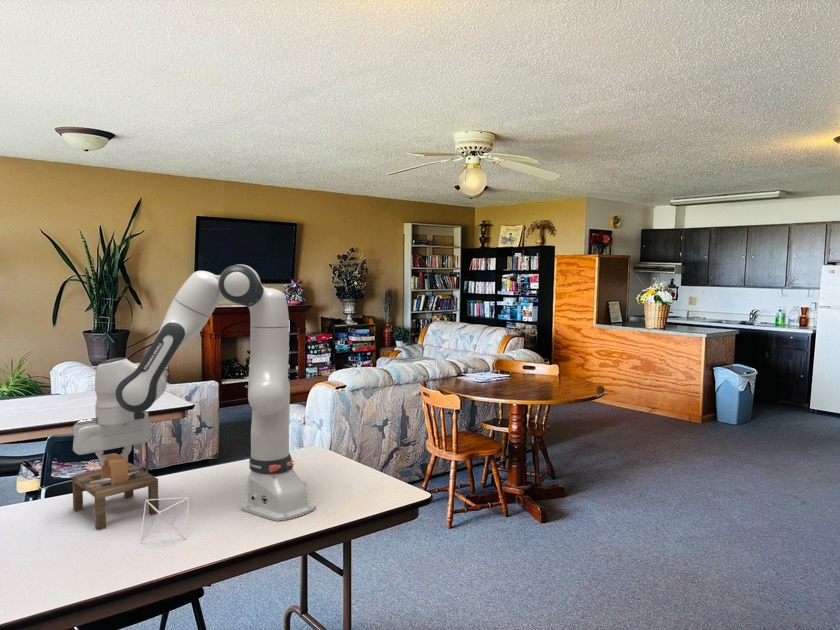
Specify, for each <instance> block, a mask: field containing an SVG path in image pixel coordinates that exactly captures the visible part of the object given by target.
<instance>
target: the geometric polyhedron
mask: <svg viewBox="0 0 840 630" xmlns="http://www.w3.org/2000/svg"><path fill="white" fill-rule="evenodd" d="M178 499H181V500H180V501H178V502H177V503H174V504H172V505H170V506H168V507H166V508H165V509H163V510H160V511H158V510H157V509H156V508H155V507H154V506H153V505H151V504H150V503H149V502H148V499H145V501H144V509H143V517H142V524H141V532H140V541H139V542H140V544H148V543H151V544H152V543H160V542H161V543H162V542H164V543H165V542H175V541H177V542H178V541H185V540H186V539H187V529H188V519H189V509H190V508H189V505H190V497H189V496H188V497H187V496H184V497H183V496H182V497H172V498H171V497H169V498H168V497H166V498H165V497H164V498H158V499H149V500H159V501H160V500H161V501H162V500H163V501H164V500H178ZM184 501H185V502H184ZM182 502H184V504H183V505H182V507H181V509H180V510H179V512H178V513H177V515H176V517H175V518H174V520H173V521H172V523H171V522H170V521H169V520H168V518H166V516H164V515H163V514H162V512H165V511H166V510H168V509H170V508H173V507H174V506H176V505H179V504H180V503H182ZM147 504H148V506H149V505H150V506H151V507H152V508H153V509H154V508H155V509H156V510H157V511H158V512H159V513H158V512H157V511H156V510H155V509H154V510H155V511H156V512H157V513H158V514H156V517H155V518H154V520H153V522H152V523H151V525H150V527H149V528H148V529H147V531H146V533H145V534H144V535H143V532H144V531H143V529H144V522H145V513H146V506H147ZM186 504H187V512H186V523H185V533H184V536H183V535H182V534H181V532H179V530H177V529H176V528H175V526H174V522H176V520H177V518H178V516H179V514H180V513H181V512H182V510H183V508H184V507H185V506H186ZM159 516H160V518H161V519H163V521H164V522H166V524H167V525H168V527H166V528H164V529H163V530H161V531H158V532H157V533H156V534H153V535H151V536H150V537H148V538H146V539H145V537H146V536H147V534H148V532H149V531H150V530H151V528H152V526H153V525H154V524H155V522H156V520H157V518H158V517H159ZM169 528H172V530H173V531H175V532H176V533H177V534H178V535H179V536H180V537H181V539H170V540H169V539H168V540H158V541H157V540H155V541H153V540H152V541H147V540H149V539H151V538H153V537H155V536H156V535H158V534H160V533H162V532H163V531H165V530H167V529H169Z"/></svg>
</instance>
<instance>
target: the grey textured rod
mask: <svg viewBox="0 0 840 630" xmlns="http://www.w3.org/2000/svg"><path fill="white" fill-rule="evenodd" d="M134 473H139V471H135V472H131V473H128V479H129V478H133V479H134ZM95 482H97V483H99V484H100V485H102V486H104V485H109V484H111V477H108V478H104V479H99V480H95V481H91V482H90V483H95Z"/></svg>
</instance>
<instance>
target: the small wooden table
mask: <svg viewBox="0 0 840 630" xmlns="http://www.w3.org/2000/svg"><path fill="white" fill-rule="evenodd" d="M135 471H139V473H134V478H129V479H128V481H124V482H120V483H116V484H111V483H110V484H106V485H100V484H99V483H97V482H95V483H90V482H91V481H95V480H99V479H101V469H96V470H91V471H88V472H82V473H78V474H74V475H72V476H71V477H72V478H71V480H72V509H73V511H74V512H80V511H82V510H84V495H83V493H84V491H85V492H87V493H89V494H90V495H91V496H92V497H93V498H94V525H95V526H94V527H95V529H96V530H97V531H101V530H104V529H107V513H106V512H107V511H106V510H107V507H106V504H107V503H106V498H107V497H111V496H115V495H119V494H123V497H124V498H126V499H131V498H133V497H134V492H135V490H136V491H137V490H140V489H143V488H147V493H148V494H147V495H148V496H147V498H148V499H147V500H148V502H149V503H150V504H151V505H153V506H154V507H155V508H156V509H157V510H158V511H159V510H160V508H159V507H160V504H159V503H160V502H159V501H160V500H149V499H159V478H157V477H156V476H153V475H152V474H150V473H149V472H146V471H145V470H143V469H142V468H139V467H138V466H136V465H135V464H133V463H131V462H129V463H128V473H131V472H135ZM83 490H84V491H83ZM148 502H147V503H148ZM155 508H154V509H155ZM154 509H153V508H152V507H151V506H150V505H149V504H148V514H149V515H150V516H155V515H158V513H159V512H160V511H159V512H158V511H157V510H156V509H155V510H156V511H157V512H158V513H157V512H156V511H155V510H154Z"/></svg>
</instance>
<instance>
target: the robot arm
mask: <svg viewBox="0 0 840 630" xmlns="http://www.w3.org/2000/svg"><path fill="white" fill-rule="evenodd" d="M224 300H225V301H226V300H228V301H229V302H230V303H231V302H232V303H234V304H238V305H241V306H245V307H248V309H249V315H250V316H249V317H250V330H249V331H250V337H249V339H250V340H249V341H250V347H249V348H250V351H249V352H250V354H249V364H248V365H249V366H248V368H249V369H248V383H247V384H248V385H247V386H248V388H247V399H248V400H247V401H248V403H249V405H250V407H251V409H252V410H251V424H250V426H251V427H250V455H249V462H248V465H249V470H250V473H249V475H248V476H247V477H248V478H247V479H246V483H245V496H244V503H243V504H242V505H241V511H243V512H246V513H250V514H253V515H256V516H260V517H262V518H265V519H268V520H272V521H275V522H280V520H281V521H287V519H288V520H292V519H295V517H296V518H298V516H299V517H302V516H304V514H305V515H307V514H309V513H311V512H313V511H314V510H315V509H316V508H317V505H316V503H315V502H313V501H312V500H310V499H309V498H308V491H307V483H306V482H305V481H304V480H301V478H300V476H298V474H297V472H296V471H295V469H294V465H295V463H294V462H295V460H293V458H292V456H291V454H290V407H291V406H290V405H291V403H290V402H291V383H290V380H289V378H288V377H289V359H290V358H289V357H290V354H289V353H290V317H289V316H290V315H289V306H288V302H287V297H286V295H285V293H283V291H282V290H279V289H277V288H272V287H270V288H269V287H266V286H264V285H263V284H262V282H261V277H260V274H259V273H258V272H257V271H256V270H254V269H253V268H252V267H251V266H249V265H246V264H233V265H232V264H231V265H230V266H228V267H226V268H225V269H224V270H223V271H222V272H221V273H220V274H218V275H217V274H214V273H212V272H210V271H206V270H197V271H194V272H193V273H191V275H190V276H189V277H188V278H187V279H186V281H185V282H183V284H182V286H180V289H179V290H178V292H177V293H176V294H175V296H174V297H173V300H172V301H171V303H170V305H169V308H168V309H167V311H166V313H165V315H164V319H163V320H162V324H161V326H160V328H159V330H158V332H157V334H156V337H155V339H154V341H153V342H152V344H151V345H150V347H149V349H148V350H147V352H146V354H145V355H144V356H143V358H142V360H141V361H140V363H139V365H138V364H136V363H134V362H132V361H130V360H129V359H127V358H126V357H114V358H110V359H106V360H104V361H101V362H100V363H99V364H98V365H97V366H96V369H95V376H94V377H95V380H94V392H95V395H96V402H95V406H94V407H95V409H94V410H95V417H94V418H93V417H92V418H89V419H88V418H87V419H80V420H78V421H77V422H75V423H74V424H73V426H72V436H73V442H72V451H73V452H74V453H75V454H76V455H78V456H81V455H87V454H88V455H89V454H93V453H95V455H96V456H97V458H98V459H99V465H100V467H101V466H106V465H108V463H107V462H108V459H106V458H103V457H102V455H104V451H108V450H114V449H119V448H124V449H125V450H124V451H123V453H122V454H119V455H120V456H122V457H124V458H125V459H127V460H128V461H129V454H130V453H131V451H132V449H133V446H135V445H142V444H146V443H149V442H151V440H152V438H153V431H152V425H151V421H150V420H149V419H148V418H149V412H148V411H147V410H148V409H150V408H151V407H152V406H153V404H154V403H155V402H156V401H157V400H158V399H159V398H161V396H162V395H163V394H164V393H165V391H166V388H167V380H166V377H165V376H164V372H165V370H166V369H167V367H168V366H169V364H170V363H171V360H172V359H173V358H174V356H175V355H176V354H177V352H178V351H180V349H181V348H182V347H183V346H184V345H185V344H187V343H188V342H190V341H191V340H193V339H194V338H195V337H196V336H197V335H198V334H199V333H200V332H201V331H202V330H203V328H204V327H205V326H206V324H207V323H208V321H209V320H210V318H211V317H212V314H213V312H214V310H215V309H216V308H217V307H218V305H219V304H220V303H221V302H222V301H224ZM312 510H313V511H312ZM310 511H311V512H310ZM306 513H307V514H306ZM301 515H302V516H301ZM291 518H292V519H291Z"/></svg>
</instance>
